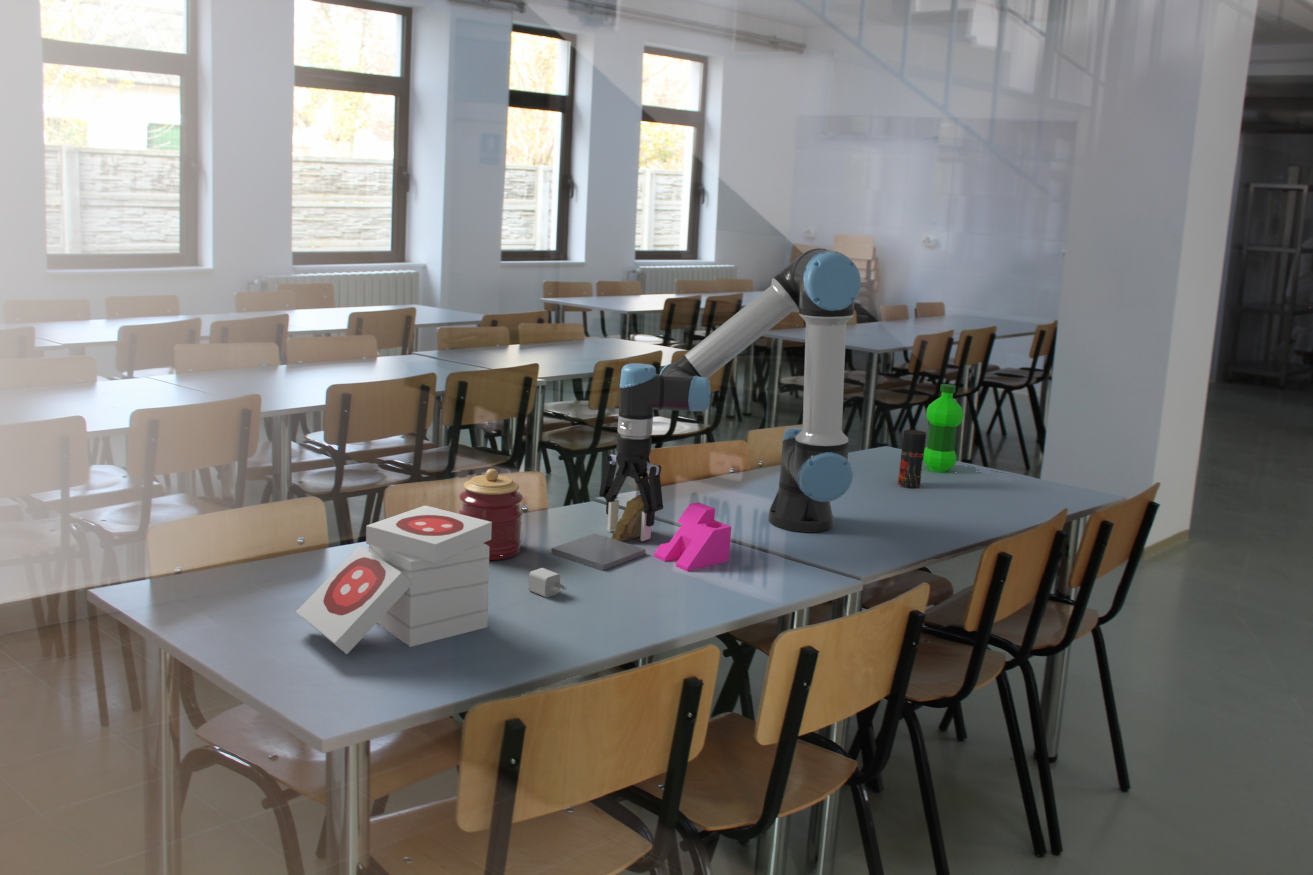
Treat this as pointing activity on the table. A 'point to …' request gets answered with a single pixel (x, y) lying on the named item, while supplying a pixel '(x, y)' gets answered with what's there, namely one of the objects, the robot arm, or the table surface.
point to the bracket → (697, 540)
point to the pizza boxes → (408, 581)
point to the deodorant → (911, 459)
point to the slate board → (598, 551)
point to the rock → (630, 520)
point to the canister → (495, 511)
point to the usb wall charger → (545, 582)
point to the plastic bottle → (942, 430)
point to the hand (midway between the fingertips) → (628, 534)
